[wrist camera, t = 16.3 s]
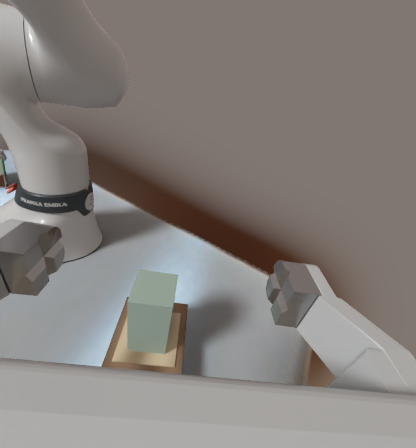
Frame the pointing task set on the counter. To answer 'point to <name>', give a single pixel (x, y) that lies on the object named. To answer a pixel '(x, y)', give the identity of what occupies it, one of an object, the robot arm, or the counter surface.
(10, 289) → the robot arm
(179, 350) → the build plinth
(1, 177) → the food container
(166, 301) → the pillar block
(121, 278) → the counter surface
